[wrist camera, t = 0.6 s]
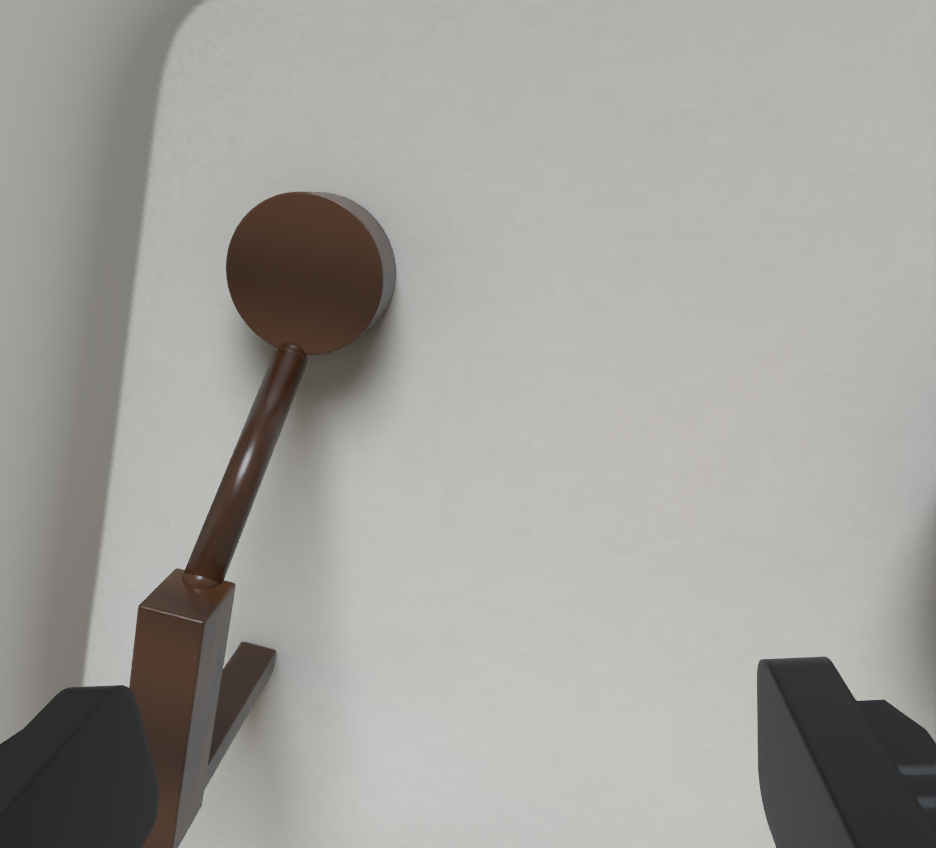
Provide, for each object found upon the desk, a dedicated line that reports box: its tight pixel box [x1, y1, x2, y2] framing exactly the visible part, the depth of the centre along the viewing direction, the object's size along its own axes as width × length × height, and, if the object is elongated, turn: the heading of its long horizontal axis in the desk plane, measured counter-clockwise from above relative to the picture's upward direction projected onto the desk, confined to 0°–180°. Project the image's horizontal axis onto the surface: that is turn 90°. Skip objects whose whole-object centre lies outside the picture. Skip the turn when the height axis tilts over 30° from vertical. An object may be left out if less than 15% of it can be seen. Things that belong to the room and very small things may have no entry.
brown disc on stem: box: [129, 192, 396, 848], centre depth 26 cm, size 21×6×10 cm, turn 167°
